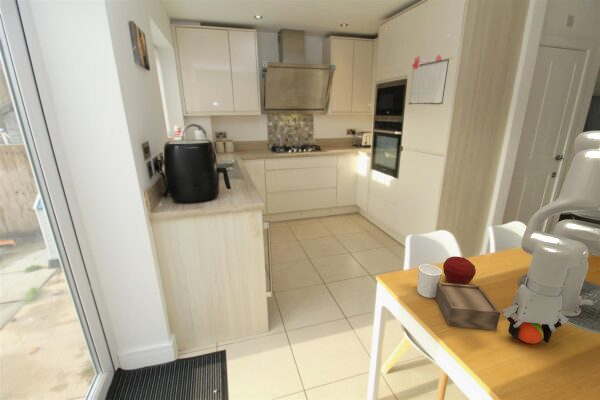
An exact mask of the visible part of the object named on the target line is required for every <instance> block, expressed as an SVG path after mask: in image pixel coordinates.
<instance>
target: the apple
mask: <svg viewBox="0 0 600 400" xmlns="http://www.w3.org/2000/svg"><path fill="white" fill-rule="evenodd" d="M442 268H443V269H442V271H443V273H444V277H445V279H446V280H447V281H448V283H450V284H461V285H469V283H471V281H473V279H474V278H475V275H476V272H477V271H476V265H474V264H473V263H472V262H471V261H470V260H469V259H468V258H465V257H462V256H449V257H448V258H446V260H445V261H444V262H443V265H442Z"/></svg>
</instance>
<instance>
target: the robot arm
mask: <svg viewBox="0 0 600 400" xmlns="http://www.w3.org/2000/svg"><path fill="white" fill-rule="evenodd" d="M573 146H574V154H575V156H574V157H573V159H572V162H571V164H570V167H569V168H568V171H567V175H566V177H565V180H564V182H563V185H562V187H561V190H560V193H559V195H558V197H557V199H555V200H554V201H551V202H550V203H548V204H546V205H544V206H542V207H541V208H540V209H538V210H536V211H535V213H534V214H532V216H531V217H530V219H529V220H528V223H527V225H526V228H525V230H524V233H523V236H522V238H521V243H520V246H521V250H522V251H523V252H525V253H526V254H528V255H531V256H532V257H531V259H530V265H529V266H528V271H527V274H526V278H525V282H524V284H521V285H520V286H519V287H518V288H517V291H516V293H515V295H514V297H513V300H512V303H511V305H510V307H509V306H508V307H507V308H504V309H502V310H501V312H502V314H503V316H504V317H505V318H506V320H507V321H508V322H509V324H508V325H509V326H508V333H509V335H510V336H511V337H512V339H514V340H517V339H518V334H519V330H520V329H519V327H518V326H519V325H521V324H522V323H523V322H530V323H538V324H539V325H540V326H541V328H542V330H543V337H544V339H543V338H542V340H543V341H544V343H547V344H548V343H550V340H551V337H552V335H553V332H556V330H557V329H558V328H560V327H562V326H563V324H565V323H567V321H569V319H568V317H578V316H579V315H580V314H581V313H582V309H581V307H580V306H589V307H592V306H593V305H594V301H593V300H591V299H583V296H581V295H580V294H581V292H582V287H583V285H584V282H585V279H586V277H587V273H588V270H589V267H590V266H589V261H588V259H589V256H590V255H594V256H596V257H600V224H597V223H593V222H587V221H583V220H578V219H563V220H560V221H558V222H557V223H556V224H555V226H554V229H553V234H551V233H549V232H548V233H547V232H545V231H541V230H540V228H541V227H542V225H543V223H544V222H545V221H546V220H548V219H549V218H551V217H553V216H556V215H560V214H564V213H571V214H573V215H575V216H577V217H582V218H586V219H590V220H594V221H600V130H589V131H588V130H587V131H583V132H581V133H580V134H578V135H577V136H576V138H575V139H574V145H573ZM511 315H512V316H511ZM517 319H518V320H517ZM516 320H517V321H516ZM515 321H516V322H515Z"/></svg>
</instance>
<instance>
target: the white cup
mask: <svg viewBox="0 0 600 400" xmlns="http://www.w3.org/2000/svg"><path fill="white" fill-rule="evenodd" d="M442 275H443V269H441V268H440V267H438V266H436V265H434V264H429V263H423V264H420V265H418V273H417V288H416V291H417V293H418V294H419V296H422V297H424V298H427V299H433V298H435V297H436V290H437V284H438V283H441V278H442Z"/></svg>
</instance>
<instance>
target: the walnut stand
mask: <svg viewBox="0 0 600 400" xmlns="http://www.w3.org/2000/svg"><path fill="white" fill-rule="evenodd" d="M434 298H435V301H436V303H437V305H438V307H439V310H440V311H441V313H442V316H443V317H444V320H445V322H446V324H447V326H450V327H458V328H467V329H475V330H484V331H493V332H494V331H495V332H497V329H498V324H499V320H500V316H501V311H500V310H499V309H498V307H497V306H496V305H495V303H494V302H493V301H492V300H491V299H490V297H489V296H488V294H487V293H486V291H484V289H483V288H482V286H480V285H473V284H472V285H471V284H467V285H461V284H451V283H450V282H440V283H438V284H437V290H436V297H434Z"/></svg>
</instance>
